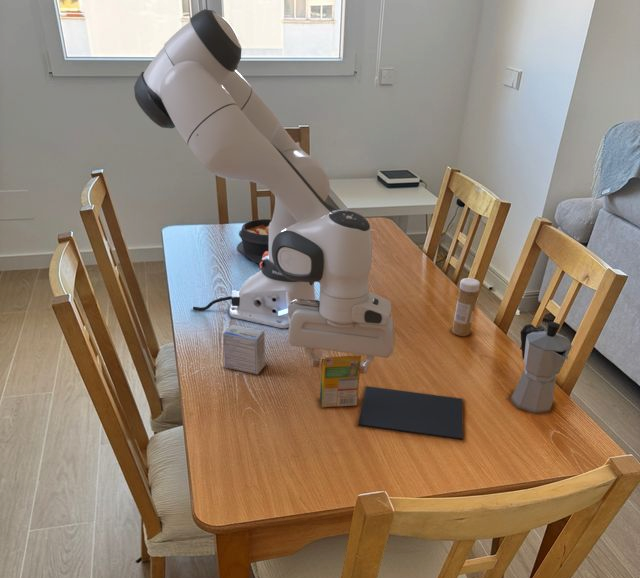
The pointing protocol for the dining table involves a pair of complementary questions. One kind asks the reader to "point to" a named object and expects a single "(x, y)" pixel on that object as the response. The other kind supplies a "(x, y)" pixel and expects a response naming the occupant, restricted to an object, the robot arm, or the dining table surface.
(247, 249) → the casserole
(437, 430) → the mat
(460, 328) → the sprinkles bottle
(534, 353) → the coffee maker
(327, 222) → the robot arm
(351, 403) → the crayon box
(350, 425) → the dining table surface
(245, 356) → the medicine box
